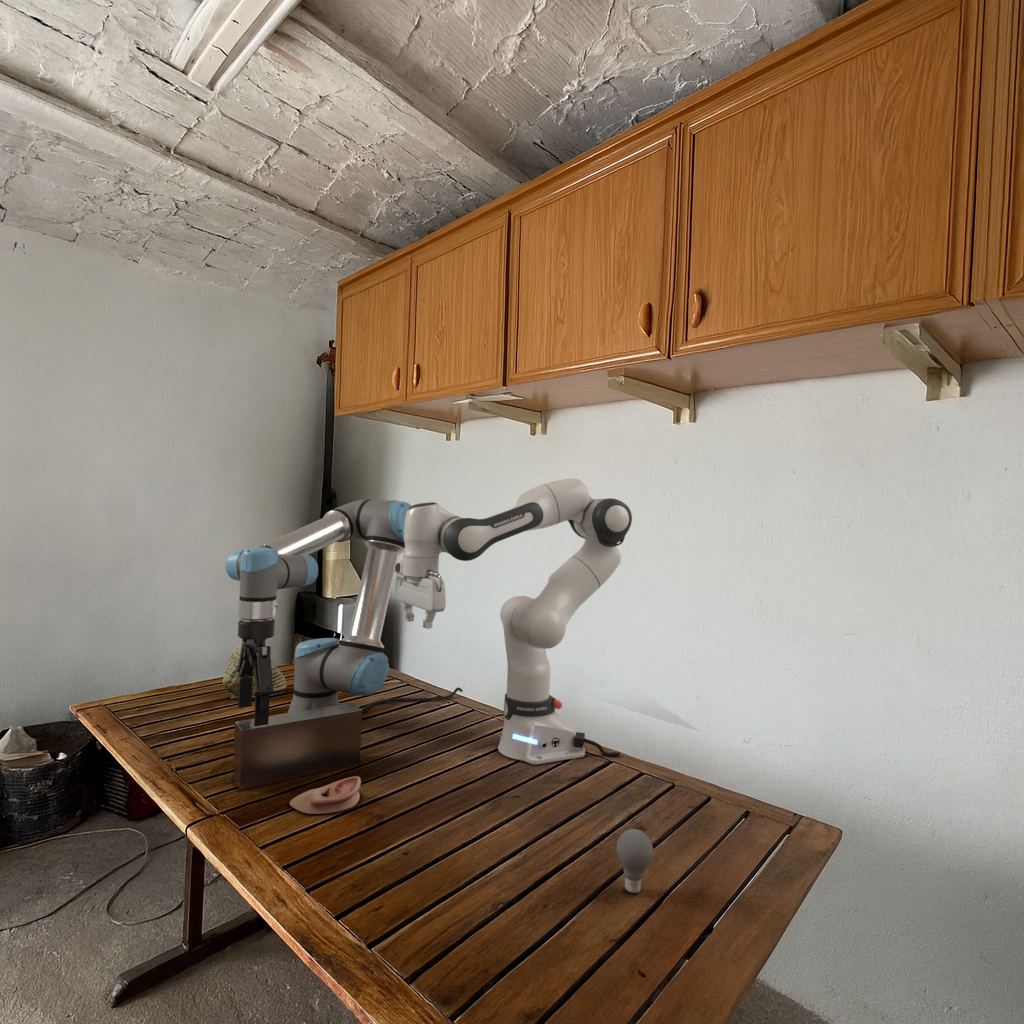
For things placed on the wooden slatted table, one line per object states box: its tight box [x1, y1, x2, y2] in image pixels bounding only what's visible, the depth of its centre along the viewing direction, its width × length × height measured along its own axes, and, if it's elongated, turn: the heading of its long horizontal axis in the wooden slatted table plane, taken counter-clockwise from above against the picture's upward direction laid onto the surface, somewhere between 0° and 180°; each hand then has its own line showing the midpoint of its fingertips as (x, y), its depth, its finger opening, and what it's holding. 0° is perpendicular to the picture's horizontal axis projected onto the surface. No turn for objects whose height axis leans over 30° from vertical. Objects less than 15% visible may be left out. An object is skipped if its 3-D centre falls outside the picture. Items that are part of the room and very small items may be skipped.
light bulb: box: [615, 828, 654, 894], centre depth 106 cm, size 6×6×10 cm
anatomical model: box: [289, 775, 362, 815], centre depth 131 cm, size 13×4×12 cm
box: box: [232, 702, 363, 791], centre depth 145 cm, size 27×6×13 cm, turn 126°
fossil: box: [222, 646, 288, 699], centre depth 198 cm, size 9×18×15 cm, turn 132°
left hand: (252, 715), depth 139 cm, fingers open, 13 cm apart
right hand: (418, 624), depth 155 cm, fingers open, 8 cm apart
